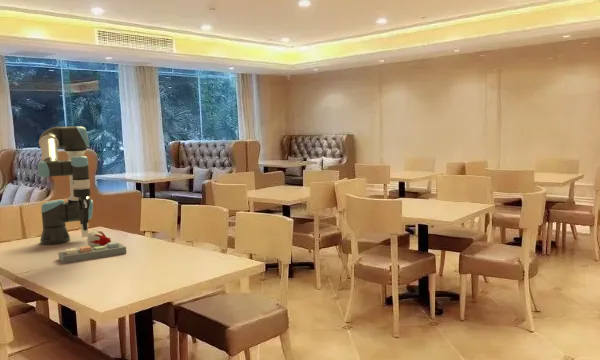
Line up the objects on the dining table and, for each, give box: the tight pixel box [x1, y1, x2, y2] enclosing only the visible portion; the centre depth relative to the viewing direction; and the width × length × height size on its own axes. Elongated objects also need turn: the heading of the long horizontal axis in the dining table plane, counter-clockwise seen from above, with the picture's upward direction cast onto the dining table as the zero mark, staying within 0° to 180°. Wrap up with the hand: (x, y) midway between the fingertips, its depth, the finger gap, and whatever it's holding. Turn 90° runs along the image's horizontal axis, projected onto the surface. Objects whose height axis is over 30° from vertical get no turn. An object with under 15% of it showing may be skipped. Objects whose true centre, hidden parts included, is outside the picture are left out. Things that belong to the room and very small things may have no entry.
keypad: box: [58, 242, 127, 264], centre depth 249 cm, size 11×29×3 cm, turn 126°
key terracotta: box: [79, 245, 92, 253], centre depth 247 cm, size 4×4×3 cm
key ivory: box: [64, 247, 78, 255], centre depth 244 cm, size 4×4×3 cm
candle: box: [87, 229, 112, 248], centre depth 269 cm, size 9×11×15 cm
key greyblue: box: [106, 241, 119, 248], centre depth 255 cm, size 4×4×3 cm
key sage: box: [94, 245, 105, 251], centre depth 251 cm, size 4×4×3 cm
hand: (85, 236), depth 247 cm, fingers closed
